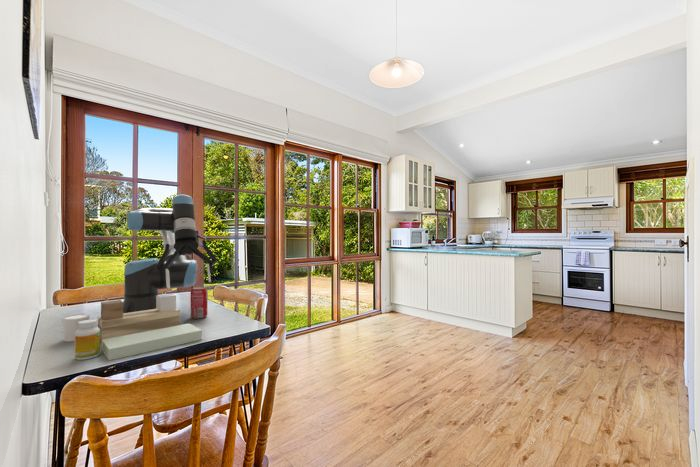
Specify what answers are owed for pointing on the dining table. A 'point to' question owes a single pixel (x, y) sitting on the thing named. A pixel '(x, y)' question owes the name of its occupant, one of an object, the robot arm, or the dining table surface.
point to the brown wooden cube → (111, 310)
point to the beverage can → (199, 302)
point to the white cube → (166, 302)
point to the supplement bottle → (87, 340)
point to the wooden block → (138, 323)
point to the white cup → (72, 326)
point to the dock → (149, 341)
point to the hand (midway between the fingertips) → (189, 284)
